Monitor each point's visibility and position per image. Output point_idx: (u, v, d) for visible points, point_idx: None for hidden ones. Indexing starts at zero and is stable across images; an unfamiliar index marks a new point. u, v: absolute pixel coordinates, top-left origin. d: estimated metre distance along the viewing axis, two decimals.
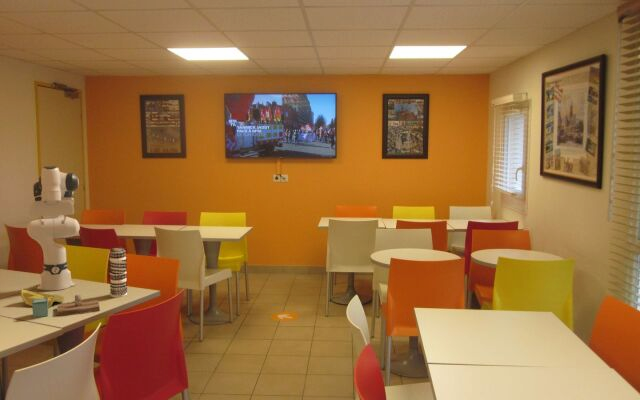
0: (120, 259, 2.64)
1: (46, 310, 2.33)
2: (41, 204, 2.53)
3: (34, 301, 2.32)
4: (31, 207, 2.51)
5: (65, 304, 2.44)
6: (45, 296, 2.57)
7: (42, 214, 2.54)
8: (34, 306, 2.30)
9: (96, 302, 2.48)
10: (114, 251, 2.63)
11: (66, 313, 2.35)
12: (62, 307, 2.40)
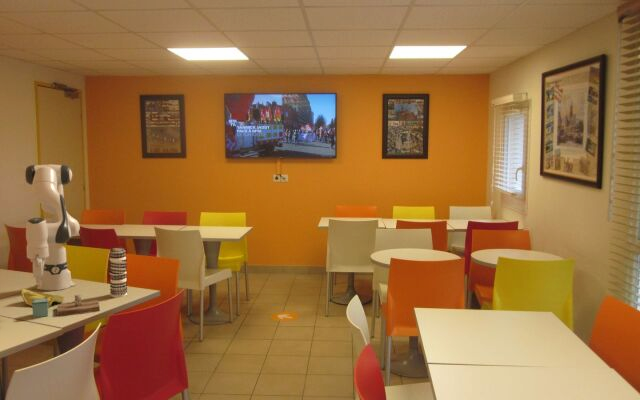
0: (120, 259, 2.64)
1: (46, 310, 2.33)
2: None
3: (34, 301, 2.32)
4: None
5: (65, 304, 2.44)
6: (46, 296, 2.57)
7: None
8: (34, 306, 2.30)
9: (96, 302, 2.48)
10: (114, 251, 2.63)
11: (66, 313, 2.35)
12: (62, 307, 2.40)
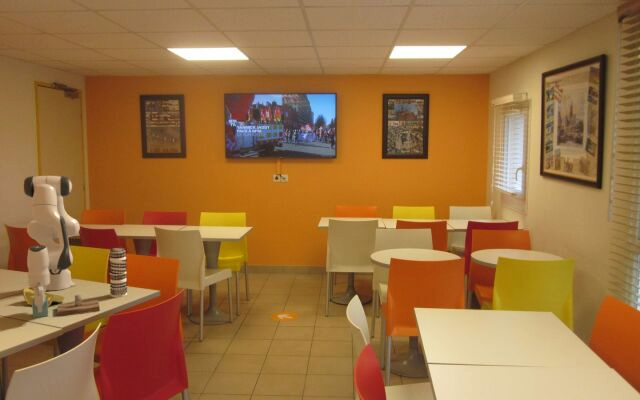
0: (120, 259, 2.64)
1: (46, 310, 2.33)
2: None
3: None
4: None
5: (65, 304, 2.44)
6: (47, 295, 2.58)
7: None
8: (34, 306, 2.30)
9: (96, 302, 2.48)
10: (114, 251, 2.63)
11: (66, 313, 2.35)
12: (62, 307, 2.40)
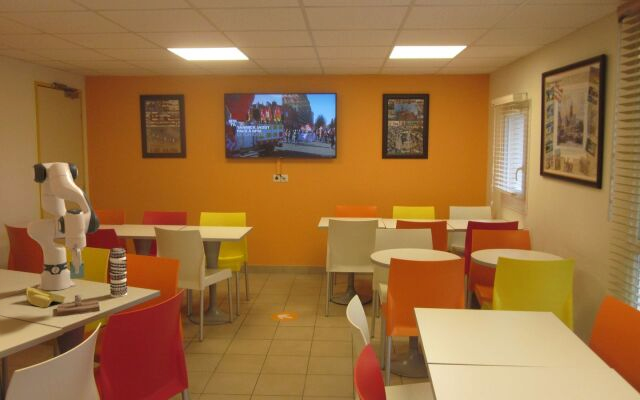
0: (120, 259, 2.64)
1: (83, 272, 2.40)
2: None
3: (71, 263, 2.39)
4: None
5: (65, 304, 2.44)
6: (50, 295, 2.59)
7: None
8: (71, 268, 2.37)
9: (96, 302, 2.48)
10: (114, 251, 2.63)
11: (66, 313, 2.35)
12: (62, 307, 2.40)
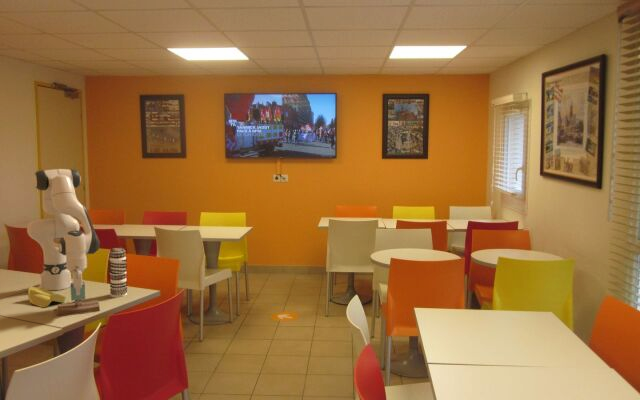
0: (120, 259, 2.64)
1: (83, 293, 2.41)
2: None
3: (72, 284, 2.40)
4: None
5: (65, 304, 2.44)
6: (52, 295, 2.59)
7: None
8: (72, 289, 2.38)
9: (96, 302, 2.48)
10: (114, 251, 2.63)
11: (66, 313, 2.35)
12: (62, 307, 2.40)
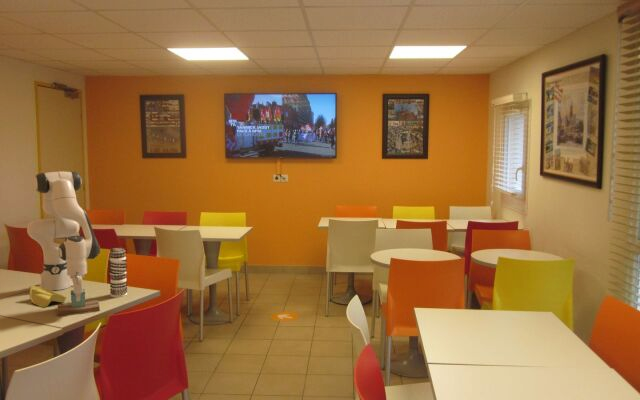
0: (120, 259, 2.64)
1: (84, 301, 2.41)
2: None
3: (72, 292, 2.41)
4: None
5: (65, 304, 2.44)
6: None
7: None
8: (73, 297, 2.39)
9: (96, 302, 2.48)
10: (114, 251, 2.63)
11: (66, 313, 2.35)
12: (62, 307, 2.40)
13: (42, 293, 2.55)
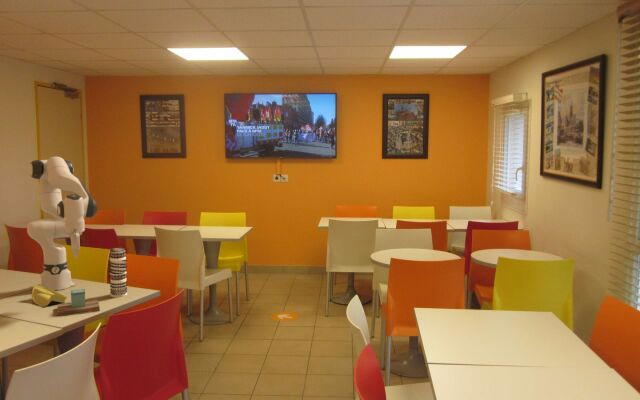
0: (120, 259, 2.64)
1: (84, 301, 2.41)
2: None
3: (72, 292, 2.41)
4: None
5: (65, 304, 2.44)
6: (55, 294, 2.61)
7: None
8: (73, 297, 2.39)
9: (96, 302, 2.48)
10: (114, 251, 2.63)
11: (66, 313, 2.35)
12: (62, 307, 2.40)
13: (44, 293, 2.56)
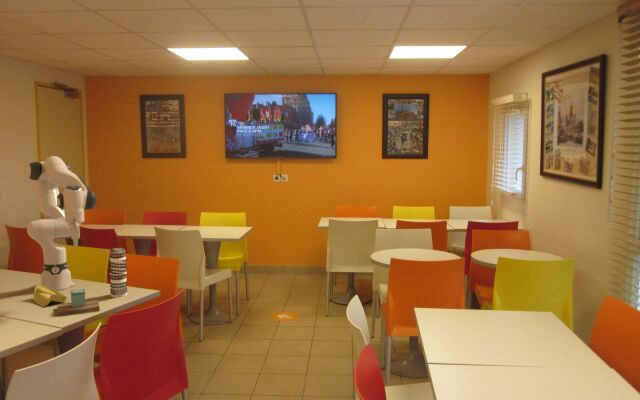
0: (120, 259, 2.64)
1: (84, 301, 2.41)
2: None
3: (72, 292, 2.41)
4: None
5: (65, 304, 2.44)
6: (57, 294, 2.61)
7: None
8: (73, 297, 2.39)
9: (96, 302, 2.48)
10: (114, 251, 2.63)
11: (66, 313, 2.35)
12: (62, 307, 2.40)
13: (45, 292, 2.57)
